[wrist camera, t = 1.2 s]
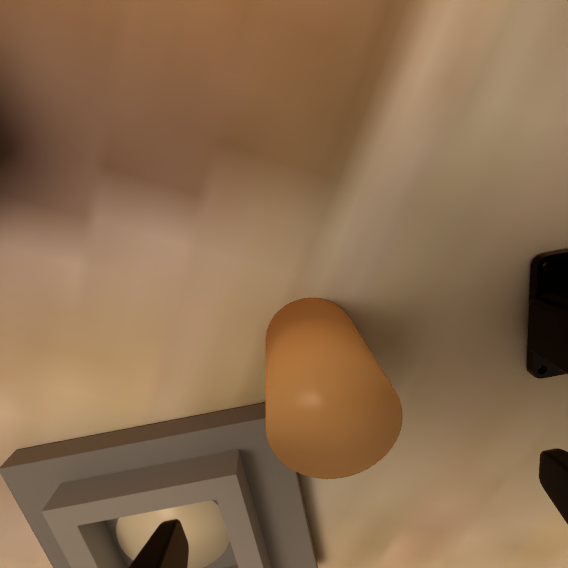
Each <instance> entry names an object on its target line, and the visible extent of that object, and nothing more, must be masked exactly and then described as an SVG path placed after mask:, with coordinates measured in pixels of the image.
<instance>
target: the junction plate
mask: <svg viewBox="0 0 568 568" xmlns="http://www.w3.org/2000/svg"><path fill="white" fill-rule="evenodd" d="M0 473H1V475H2V477H3V478H4V480H5V482H6V484H7V486H8V487H9V489H10V491H11V493H12V495H13V496H14V498H15V500H16V502H17V504H18V505H19V507H20V509H21V511H22V513H23V514H24V516H25V518H26V520H27V521H28V523H29V525H30V527H31V529H32V530H33V532H34V534H35V536H36V538H37V539H38V541H39V543H40V545H41V547H42V548H43V550H44V552H45V554H46V556H47V557H48V559H49V561H50V563H51V564H52V566H53V568H128V567H129V566H130V564H131V563H132V562H133V560H134V559H135V558H136V556H137V555H138V554H139V552H140V551H141V549H142V548H143V547H144V545H145V544H146V543H147V541H148V540H149V538H150V537H151V536H152V534H153V533H154V532H155V530H156V529H157V527H158V526H159V525H160V524H161V523H162V522H164V521H168V520H173V519H178V520H179V521H180V522H181V524H182V527H183V530H184V532H185V535H186V538H187V540H188V545H189V555H188V566H187V568H318V565H317V559H316V554H315V550H314V545H313V541H312V536H311V531H310V527H309V522H308V518H307V513H306V509H305V504H304V499H303V495H302V490H301V486H300V481H299V477H298V472H295V471H294V470H292V469H290V468H288V467H287V466H286V465H285V464H283V463H282V462H281V461H280V460H279V459H278V458H277V457H276V455H275V454H274V452H273V451H272V449H271V447H270V445H269V442H268V439H267V435H266V402H265V403H260V404H255V405H250V406H244V407H239V408H234V409H229V410H223V411H218V412H213V413H208V414H202V415H197V416H192V417H187V418H182V419H176V420H171V421H166V422H161V423H155V424H150V425H145V426H140V427H134V428H129V429H124V430H119V431H113V432H108V433H103V434H98V435H93V436H87V437H82V438H77V439H72V440H66V441H61V442H56V443H51V444H45V445H40V446H35V447H30V448H25V449H19V450H16V451H15V452H14V453H13V454H12V455H11V456H10V457H9V458H8V459H7V460H6V461H5V462H4V464H3V465H2V466H1V467H0Z"/></svg>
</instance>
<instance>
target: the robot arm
mask: <svg viewBox="0 0 568 568" xmlns="http://www.w3.org/2000/svg"><path fill="white" fill-rule="evenodd" d="M545 262H547V264H546V266H545V267H544V268H543V264H544V263H545ZM540 366H541V367H540ZM539 367H540V368H539ZM538 368H539V369H538ZM527 371H528V372H529V373H530V374H531V375H533V376H534V377H536V378H547V377H552V376H557V375H562V374H568V249H564V250H558V251H553V252H548V253H543V254H540V255H537V256H536V257H535V258H534V259H533V261H532V263H531V271H530V297H529V323H528V349H527ZM539 479H540V482H541V485H542V487H543V488H544V490H545V491H546V493H547V494H548V496H549V497H550V499H551V500H552V502H553V503H554V505H555V506H556V508H557V509H558V511H559V512H560V514H561V515H562V517H563V518H564V520H565V521H566V523H567V524H568V452H566V451H564V450H562V449H551V450H545V451H542V452H541V454H540V464H539ZM188 555H189V545H188V540H187V538H186V535H185V532H184V530H183V527H182V524H181V522H180V521H179V520H178V519H173V520H168V521H164V522H162V523H161V524H160V525H159V526H158V527H157V529H156V530H155V532H154V533H153V534H152V536H151V537H150V538H149V540H148V541H147V543H146V544H145V545H144V547H143V548H142V549H141V551H140V552H139V554H138V555H137V556H136V558H135V559H134V560H133V562H132V563H131V564H130V566H129V567H128V568H187V566H188Z"/></svg>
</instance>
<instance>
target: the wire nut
mask: <svg viewBox="0 0 568 568" xmlns="http://www.w3.org/2000/svg"><path fill="white" fill-rule="evenodd" d="M401 424H402V408H401V403H400V400H399V398H398V396H397V394H396V392H395V390H394V388H393V387H392V385H391V384H390V382H389V380H388V379H387V377H386V376H385V374H384V372H383V371H382V369H381V368H380V366H379V364H378V363H377V361H376V359H375V358H374V356H373V355H372V353H371V351H370V350H369V348H368V347H367V345H366V343H365V342H364V340H363V339H362V337H361V335H360V334H359V332H358V331H357V329H356V327H355V326H354V324H353V322H352V321H351V319H350V318H349V316H348V315H347V313H346V312H345V311H344V310H343V309H342V308H341V307H339V306H338V305H336V304H335V303H333V302H331V301H328V300H325V299H321V298H304V299H300V300H296V301H294V302H291V303H289V304H288V305H286V306H284V307H283V308H282V309H280V310H279V311H278V312H277V313H276V315H275V316H274V317H273V318H272V320H271V322H270V324H269V326H268V329H267V332H266V435H267V439H268V442H269V445H270V447H271V449H272V451H273V452H274V454H275V455H276V457H277V458H278V459H279V460H280V461H281V462H282V463H283V464H285V465H286V466H287V467H288V468H290V469H292V470H294V471H295V472H298V473H300V474H302V475H306V476H309V477H314V478H321V479H336V478H343V477H347V476H351V475H354V474H357V473H360V472H362V471H364V470H366V469H368V468H370V467H371V466H373V465H374V464H376V463H377V462H378V461H380V460H381V459H382V458H383V457H384V456H385V455H386V454H387V453H388V452H389V450H390V449H391V448H392V446H393V445H394V443H395V442H396V440H397V437H398V435H399V432H400V429H401Z"/></svg>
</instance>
